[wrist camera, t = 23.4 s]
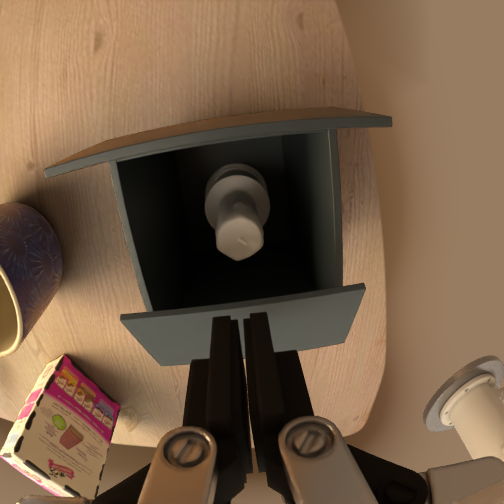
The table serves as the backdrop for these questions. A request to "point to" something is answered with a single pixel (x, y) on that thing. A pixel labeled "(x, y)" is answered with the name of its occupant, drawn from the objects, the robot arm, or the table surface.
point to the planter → (25, 272)
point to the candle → (237, 209)
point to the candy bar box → (63, 432)
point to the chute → (193, 199)
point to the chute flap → (278, 310)
